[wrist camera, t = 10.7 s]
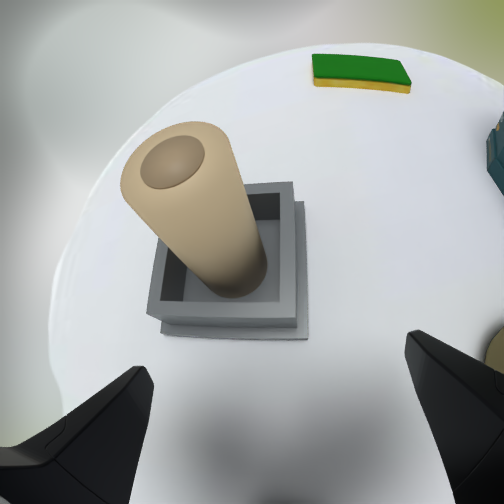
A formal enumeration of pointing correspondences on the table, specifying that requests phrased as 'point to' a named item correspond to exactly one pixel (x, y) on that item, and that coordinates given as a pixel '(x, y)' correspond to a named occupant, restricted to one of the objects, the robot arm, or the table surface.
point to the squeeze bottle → (496, 352)
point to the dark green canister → (496, 154)
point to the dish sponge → (360, 72)
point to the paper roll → (198, 205)
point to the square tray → (254, 304)
